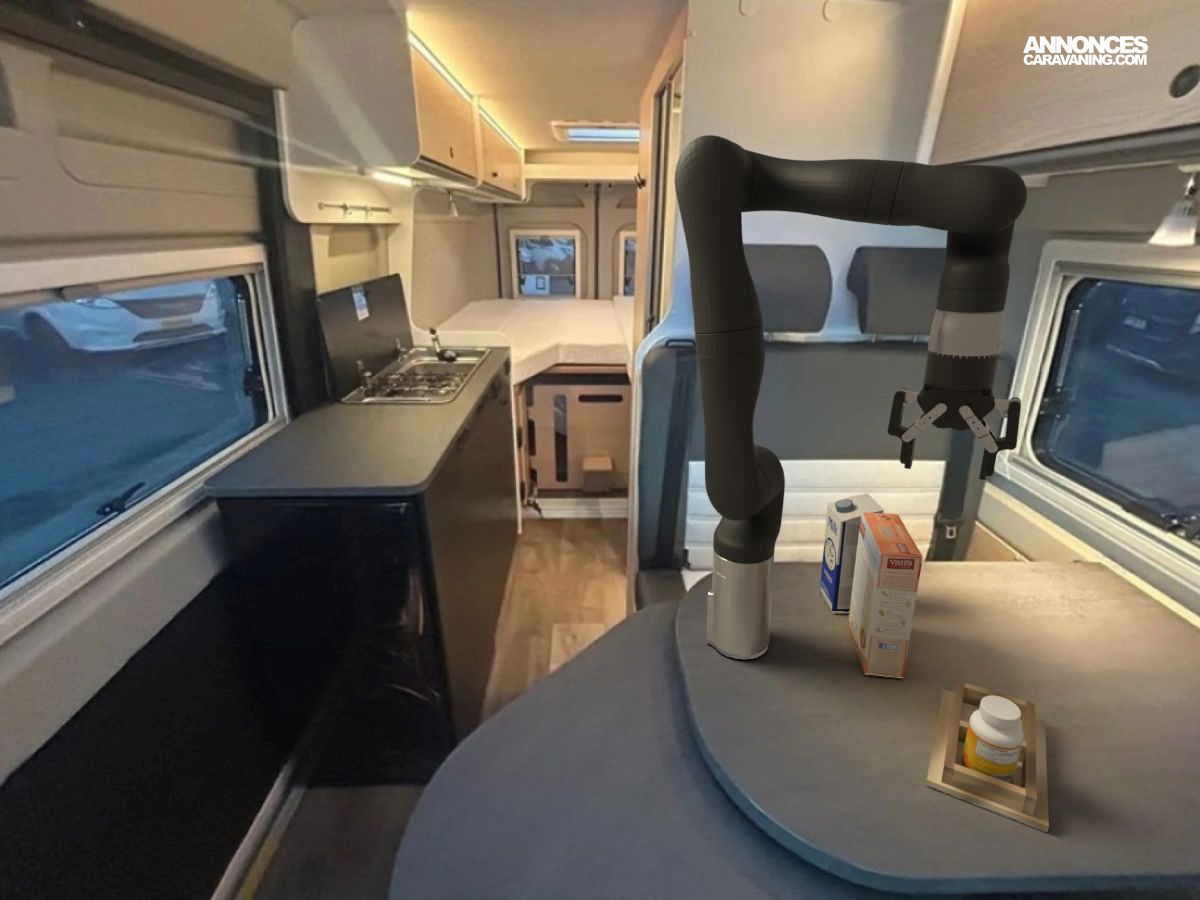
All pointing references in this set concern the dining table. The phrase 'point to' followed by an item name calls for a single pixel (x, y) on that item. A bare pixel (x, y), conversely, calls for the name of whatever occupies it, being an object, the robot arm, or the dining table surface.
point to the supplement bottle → (994, 739)
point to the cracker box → (884, 593)
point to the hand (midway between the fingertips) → (944, 472)
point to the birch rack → (948, 774)
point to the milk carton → (843, 548)
